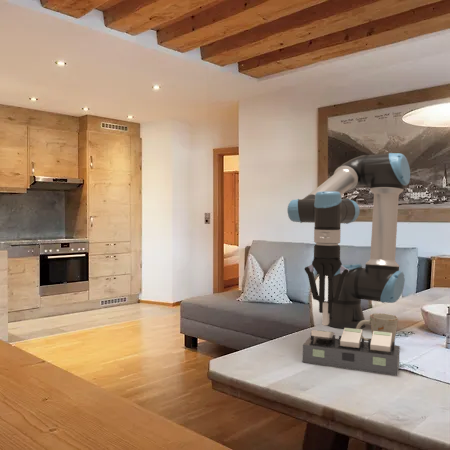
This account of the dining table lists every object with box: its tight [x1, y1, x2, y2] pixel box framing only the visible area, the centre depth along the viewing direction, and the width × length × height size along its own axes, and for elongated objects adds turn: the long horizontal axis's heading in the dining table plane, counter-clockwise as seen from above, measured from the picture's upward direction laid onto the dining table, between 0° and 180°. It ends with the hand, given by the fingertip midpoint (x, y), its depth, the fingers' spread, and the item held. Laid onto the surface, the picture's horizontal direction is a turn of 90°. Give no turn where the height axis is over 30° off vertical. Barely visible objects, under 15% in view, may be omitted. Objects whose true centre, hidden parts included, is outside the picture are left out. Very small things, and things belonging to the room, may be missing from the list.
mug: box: [356, 312, 399, 345], centre depth 147 cm, size 8×13×10 cm, turn 78°
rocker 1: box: [310, 329, 335, 338], centre depth 133 cm, size 8×5×2 cm, turn 157°
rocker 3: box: [370, 331, 392, 352], centre depth 127 cm, size 8×5×2 cm, turn 157°
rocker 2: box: [340, 328, 363, 348], centre depth 130 cm, size 8×5×2 cm, turn 157°
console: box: [302, 334, 401, 377], centre depth 130 cm, size 11×25×7 cm, turn 67°
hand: (325, 324), depth 136 cm, fingers closed
